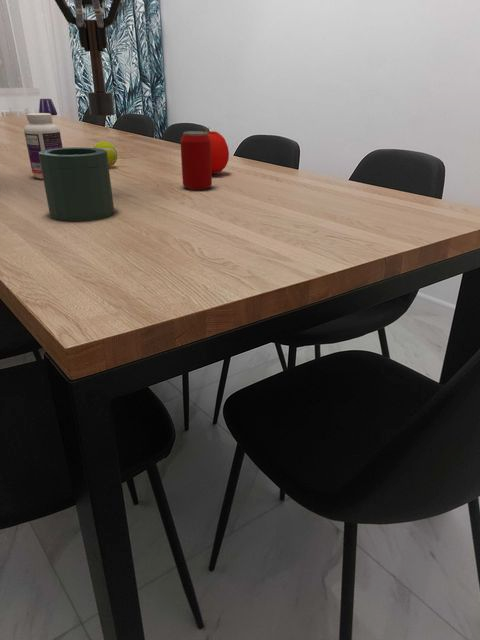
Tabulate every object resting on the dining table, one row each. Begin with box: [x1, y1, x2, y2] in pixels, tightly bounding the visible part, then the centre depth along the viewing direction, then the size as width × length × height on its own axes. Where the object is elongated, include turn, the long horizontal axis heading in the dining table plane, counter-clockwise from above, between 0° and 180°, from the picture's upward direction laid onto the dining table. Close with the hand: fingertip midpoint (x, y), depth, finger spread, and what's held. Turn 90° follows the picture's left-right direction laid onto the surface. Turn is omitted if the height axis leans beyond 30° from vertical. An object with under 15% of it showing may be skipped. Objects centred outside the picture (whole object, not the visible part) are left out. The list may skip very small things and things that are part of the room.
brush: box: [85, 19, 116, 117], centre depth 97 cm, size 5×5×16 cm
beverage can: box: [179, 130, 213, 191], centre depth 115 cm, size 7×7×12 cm
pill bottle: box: [23, 112, 64, 180], centre depth 122 cm, size 8×8×14 cm
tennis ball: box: [93, 141, 118, 168], centre depth 138 cm, size 7×7×7 cm
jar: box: [38, 146, 115, 222], centre depth 92 cm, size 11×11×11 cm
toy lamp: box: [38, 98, 58, 123], centre depth 140 cm, size 5×5×17 cm
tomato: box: [201, 127, 230, 174], centre depth 131 cm, size 12×12×11 cm
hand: (94, 50), depth 96 cm, fingers closed on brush
